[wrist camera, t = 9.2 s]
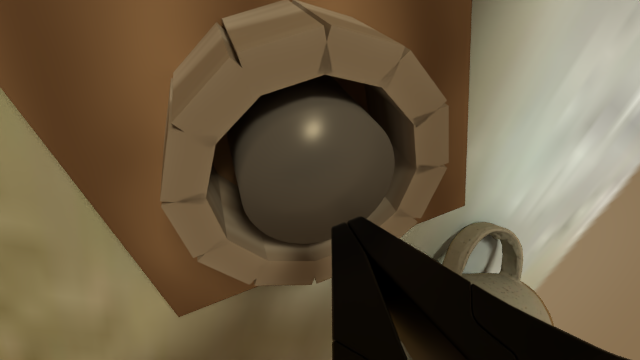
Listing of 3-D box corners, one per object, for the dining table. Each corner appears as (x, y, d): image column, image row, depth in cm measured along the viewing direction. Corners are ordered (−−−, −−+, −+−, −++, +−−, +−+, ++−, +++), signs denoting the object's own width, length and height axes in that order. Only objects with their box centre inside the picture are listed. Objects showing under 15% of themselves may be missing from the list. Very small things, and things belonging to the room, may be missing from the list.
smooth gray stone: (337, 45, 14) (385, 83, 11) (359, 156, 17) (401, 211, 14) (204, 91, 13) (212, 144, 10) (252, 196, 16) (269, 263, 13)
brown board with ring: (441, -181, 13) (598, -242, 8) (444, 185, 22) (516, 256, 18) (-63, -53, 11) (-252, -32, 6) (178, 286, 20) (178, 396, 16)
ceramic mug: (464, 317, 32) (533, 409, 26) (380, 327, 29) (435, 434, 23) (526, 215, 27) (630, 299, 21) (433, 213, 24) (522, 311, 18)
